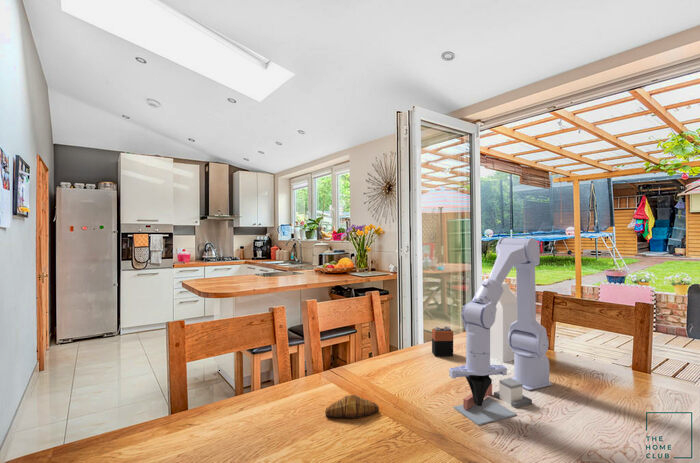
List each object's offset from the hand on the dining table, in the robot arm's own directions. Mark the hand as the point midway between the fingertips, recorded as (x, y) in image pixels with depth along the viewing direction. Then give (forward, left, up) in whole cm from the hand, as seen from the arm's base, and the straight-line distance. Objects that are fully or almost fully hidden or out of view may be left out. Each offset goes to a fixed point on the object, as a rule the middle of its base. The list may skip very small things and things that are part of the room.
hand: (477, 404), depth 92 cm
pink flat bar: (-3, -3, -2) cm, 5 cm away
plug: (-12, -1, -2) cm, 12 cm away
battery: (-17, -37, -2) cm, 41 cm away
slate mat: (-1, +1, -2) cm, 2 cm away
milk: (-37, -29, -2) cm, 47 cm away
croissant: (+30, -11, -2) cm, 32 cm away
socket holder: (-12, -1, -2) cm, 12 cm away
